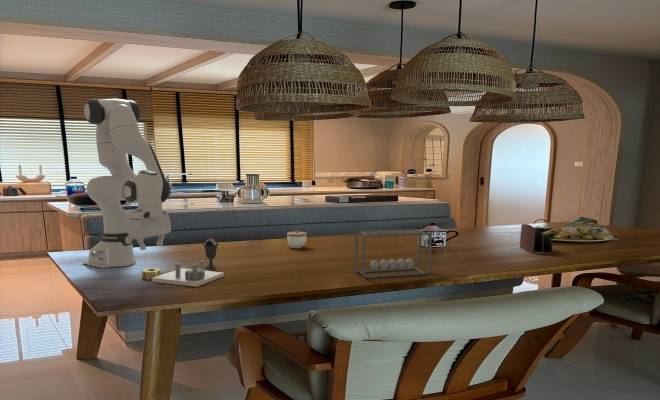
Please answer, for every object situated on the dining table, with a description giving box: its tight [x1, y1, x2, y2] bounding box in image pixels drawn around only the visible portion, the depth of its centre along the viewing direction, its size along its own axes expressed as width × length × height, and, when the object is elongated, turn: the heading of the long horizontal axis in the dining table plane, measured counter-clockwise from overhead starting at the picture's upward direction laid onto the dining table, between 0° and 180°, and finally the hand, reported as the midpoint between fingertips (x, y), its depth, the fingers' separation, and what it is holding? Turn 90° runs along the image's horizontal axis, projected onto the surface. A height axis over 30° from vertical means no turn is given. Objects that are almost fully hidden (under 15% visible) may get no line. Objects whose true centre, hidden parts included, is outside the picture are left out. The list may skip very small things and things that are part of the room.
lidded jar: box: [286, 229, 308, 249], centre depth 261 cm, size 11×11×9 cm
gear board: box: [151, 259, 225, 288], centre depth 189 cm, size 20×18×7 cm
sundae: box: [202, 232, 220, 269], centre depth 210 cm, size 7×7×15 cm
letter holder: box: [519, 223, 553, 255], centre depth 258 cm, size 10×20×14 cm, turn 177°
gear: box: [141, 267, 162, 281], centre depth 190 cm, size 7×7×3 cm
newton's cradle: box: [354, 228, 433, 279], centre depth 201 cm, size 30×10×18 cm, turn 106°
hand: (151, 247), depth 189 cm, fingers open, 8 cm apart
